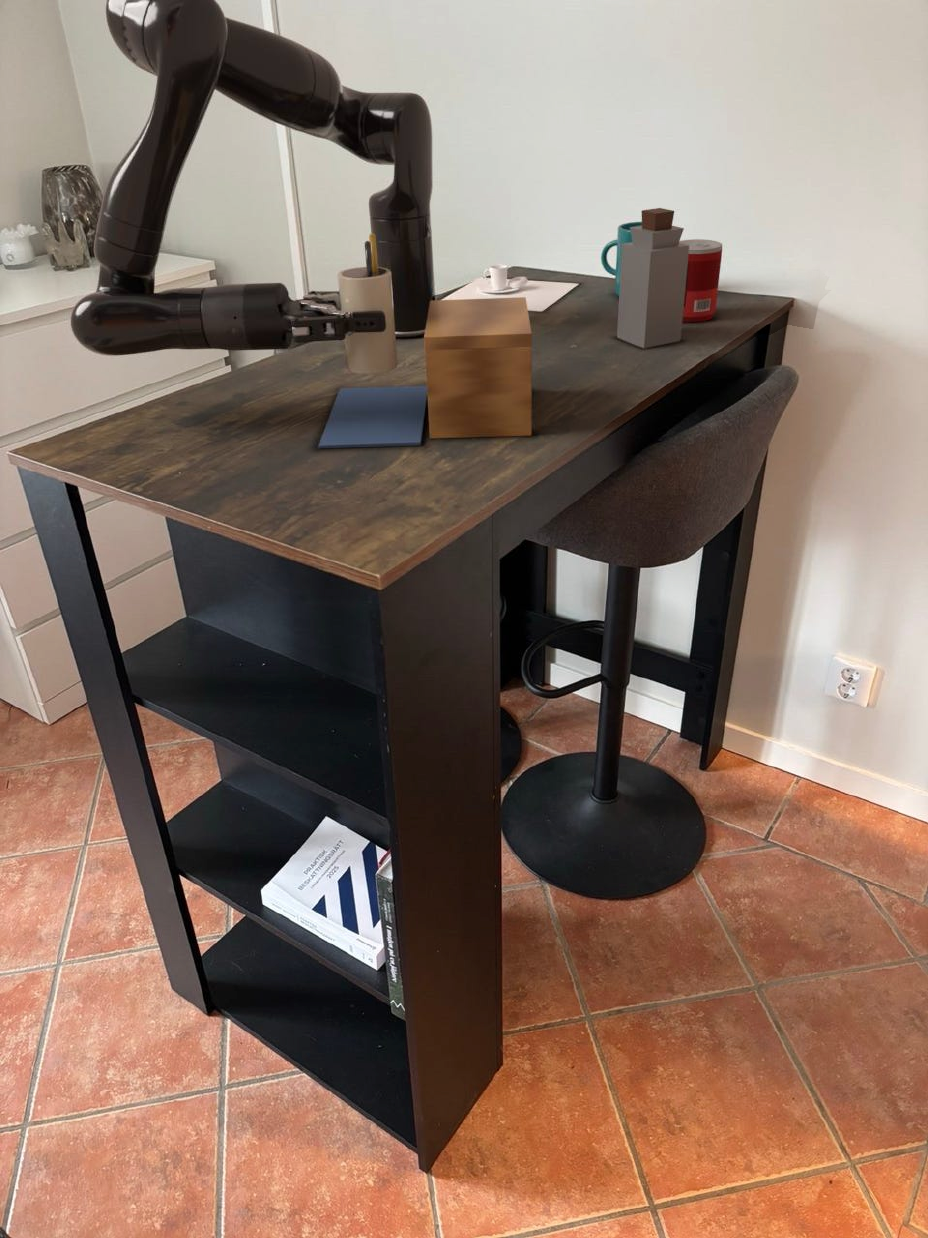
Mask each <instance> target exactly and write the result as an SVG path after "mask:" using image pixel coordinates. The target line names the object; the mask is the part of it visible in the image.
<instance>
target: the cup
mask: <svg viewBox="0 0 928 1238" xmlns="http://www.w3.org/2000/svg"><path fill="white" fill-rule="evenodd" d="M635 226H642V221H632V222H626V223H622V224H620V225H618V227H617V235H616V236H617V237H616V239H613V240H611V241H609V242H608V243H607V244H605V246H603V249H602V251H601V254H600V261H601V264H602V267H603V269H604V270H605V271H606V272H607V273H608V274H609V275H612V276H614V293H615V295H616V296H617V297H619V291H620V273H621V255H622V244H624V243H631V242H633V241H632V236H631V231H630V227H635ZM613 247H616V256H615V268H613V267H612V266H611V265H610V263H609V262H608V253H609V251H610V250H611V249H612V248H613Z"/></svg>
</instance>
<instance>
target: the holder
mask: <svg viewBox="0 0 928 1238" xmlns="http://www.w3.org/2000/svg"><path fill="white" fill-rule="evenodd" d="M368 238H369V240H366V241H365V242H364V253H365V265H366V266H358V267H351V268H346V269H343V270H341V271H339V272H338V273H337V285H338V291H339V295H340V305H341V311H349V312H351V315H352V313H353V312H361V311H383V312H384V313H385V318H386V329H385V331H383V332H360V333H354V331H353V334H352V335H350V336H346V339H344V340H343V344H344V354H345V363H346V369H347V371H349V372H350V373H353V374H357V375H379V374H384V373H388V372H389V373H390V372H391V371H393V370H395V369H396V368H398V352H397V351H398V350H397V337H396V335H395V321H394V307H393V293H392V278H391V271H390V270H389V269H386V268H381V267H378V264H377V251H376V238H375V234H373V233H371V232H370V234H369V235H368Z"/></svg>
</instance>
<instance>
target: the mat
mask: <svg viewBox="0 0 928 1238" xmlns="http://www.w3.org/2000/svg"><path fill="white" fill-rule="evenodd" d="M427 405H428V395H427V384H426V385H400V386H371V387H370V386H368V387H367V386H366V387H340V388H339V391H338V392H337V396H336V398H335V401H334V403H333V406H332V409H331V411H330V414H329V417H328V419H327V421H326V425H325V426H324V429H323V432H322V435H321V437H320V440H319V443H318V446H317V447H318V449H345V448H346V449H348V448H349V449H351V448H377V447H378V448H379V447H381V448H382V447H410V446H411V447H413V446H416V447H417V446H422V440H423V434H424V433H423V432H424V425H425V417H426V410H427Z"/></svg>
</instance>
